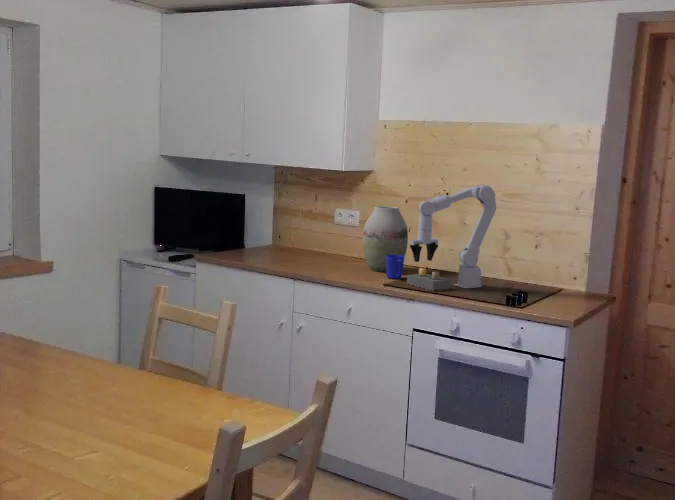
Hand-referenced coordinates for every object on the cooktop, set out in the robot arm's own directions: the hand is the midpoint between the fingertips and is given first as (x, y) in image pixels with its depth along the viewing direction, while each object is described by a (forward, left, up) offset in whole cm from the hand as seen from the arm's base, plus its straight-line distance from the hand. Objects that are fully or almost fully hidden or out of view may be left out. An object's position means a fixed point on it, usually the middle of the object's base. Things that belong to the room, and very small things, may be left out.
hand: (423, 261), depth 311 cm
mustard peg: (0, 0, -7) cm, 7 cm away
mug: (+1, -16, -11) cm, 19 cm away
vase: (-9, -36, -11) cm, 39 cm away
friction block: (0, +4, -10) cm, 11 cm away
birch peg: (0, +8, -7) cm, 11 cm away
